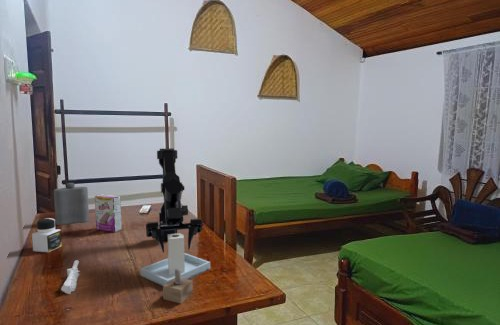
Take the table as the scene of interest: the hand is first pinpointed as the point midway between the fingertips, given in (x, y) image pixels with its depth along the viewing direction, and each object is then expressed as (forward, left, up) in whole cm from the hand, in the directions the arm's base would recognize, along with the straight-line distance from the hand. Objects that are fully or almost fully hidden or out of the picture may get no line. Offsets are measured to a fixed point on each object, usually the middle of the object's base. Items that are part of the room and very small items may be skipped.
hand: (176, 250), depth 110 cm
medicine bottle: (+17, -58, -8) cm, 61 cm away
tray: (-1, -1, -8) cm, 8 cm away
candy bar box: (-11, -62, -8) cm, 64 cm away
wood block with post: (+9, +12, -8) cm, 17 cm away
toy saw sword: (+23, -24, -8) cm, 34 cm away
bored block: (-1, -1, -7) cm, 8 cm away
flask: (-6, -88, -8) cm, 89 cm away
